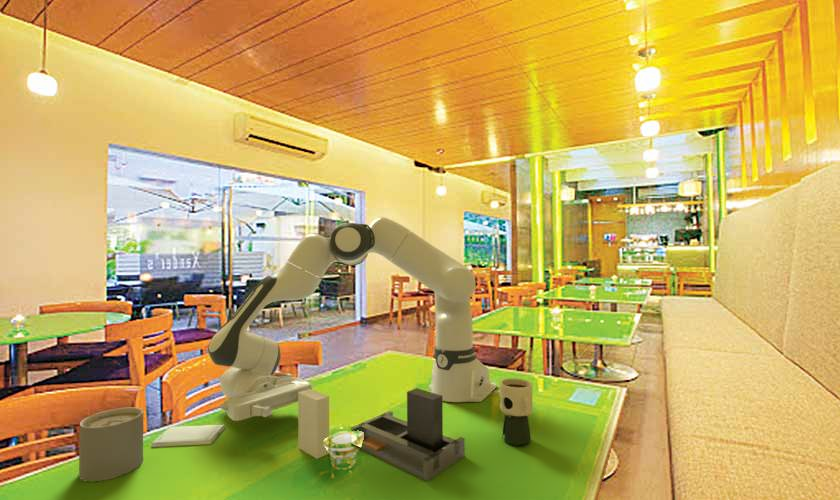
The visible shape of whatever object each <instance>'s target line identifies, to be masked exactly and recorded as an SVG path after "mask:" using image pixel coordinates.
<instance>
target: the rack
mask: <svg viewBox="0 0 840 500" xmlns="http://www.w3.org/2000/svg"><path fill="white" fill-rule="evenodd" d="M406 412H407V413H406V420H407V421H406V420H403V419H401V418H399V417H396V416H394V412H393V411H391V410H389V411H387V412H385V413H382V414H379V415H377V416H375V417H373V418H371V419H368V420H365V421H363V422H361V423H359V424H356V425H354V426H351V427H350V428H351V431H357V430H359V431H362V432H364V440H363V443H362V447H361V449H360V450H362V451H365V453H368V454H371V455H372V456H374V457H377V458H378V459H381V460H383V461H385V462H387V463H389V464H391V465H393V466H395V467H397V468H399V469H401V470H403V471H405V472H407V473H410V474H411V475H412V476H416V477H418V478H419V479H422V480H423V481H424V482H429V481H430V480H432V479H433V478H435V477H436V476H438V475H439V474H441V473H442V472H444V471H445V470H447V469H449V468H450V467H451V466H453V465H454V464H455V463H457V462H459V461H460V460H461V459H463V458H464V457H466V454H465V453H466V451H465V449H466V448H465V445H466V443H465V439H466V438H465V437H462V436H460V437H458V438H457V439H455V438H451V437H449V436H446V435H444V434H443V433H444V431H443V430H444V428H443V423H444V422H443V417H444V416H443V412H444V411H443V401H442V395H438V394H435V393H431V391H427V390H425V389H421V388H418V387H417V388H413V389H411V390H408V391H407V392H406Z"/></svg>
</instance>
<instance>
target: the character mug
mask: <svg viewBox="0 0 840 500" xmlns="http://www.w3.org/2000/svg"><path fill="white" fill-rule="evenodd" d="M499 395H500V397H499V398H500V402H499V408H500V411H501V412H502V413H503V414H504V419H503V425H502V434H501V435H502V437H501V438H502V440H503V439H504V442H505V443H507V444H510V445H514V446H519V445H524V444H528V443H530V442H531V441H532V439H531V438H532V437H531V430H530V423H529V417H528V416H529V415H531V414H532V413H533V408H534V407H533V382H531V381H529V380H527V379H523V378H515V377H513V378H504V379H502V380H500V381H499Z"/></svg>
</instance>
